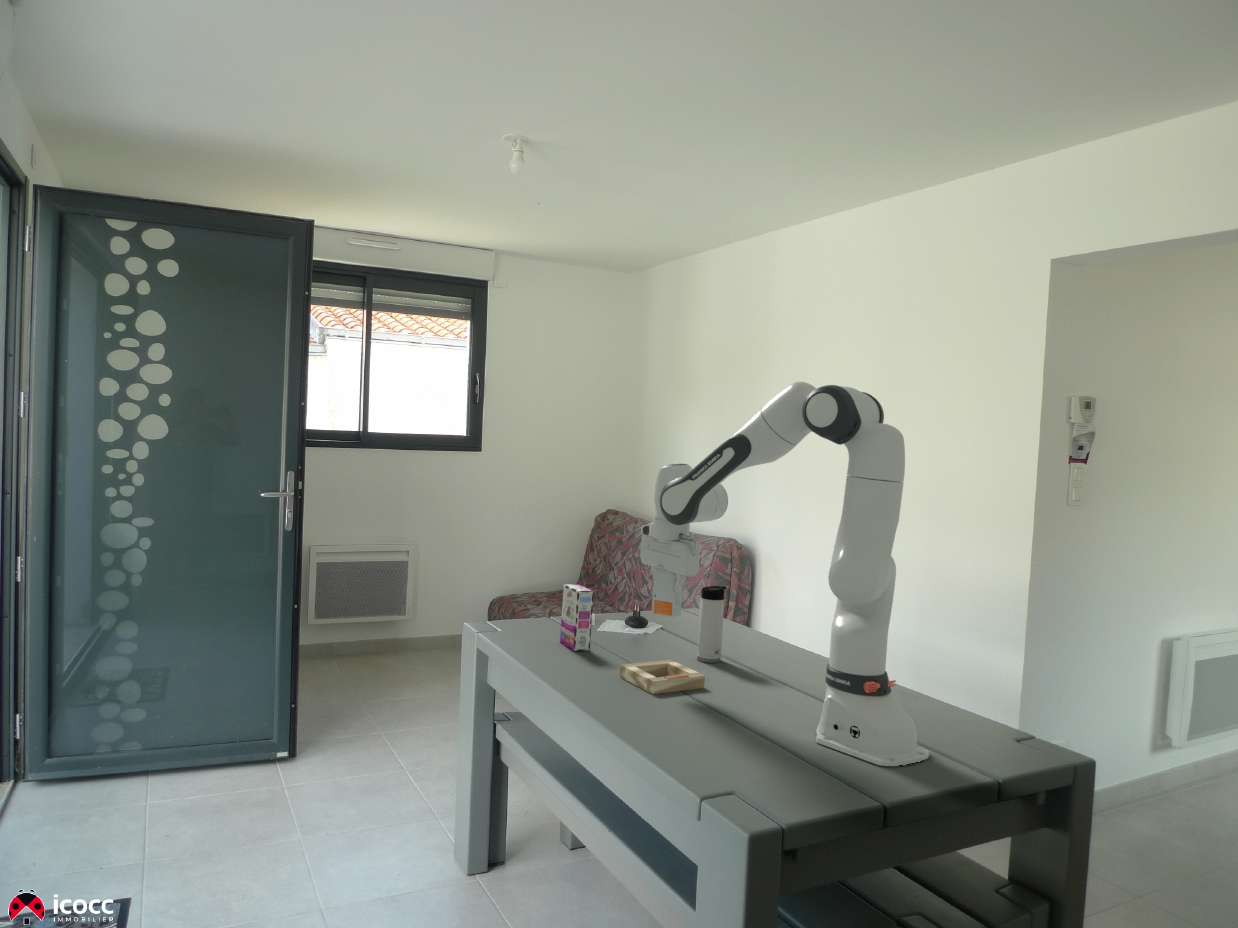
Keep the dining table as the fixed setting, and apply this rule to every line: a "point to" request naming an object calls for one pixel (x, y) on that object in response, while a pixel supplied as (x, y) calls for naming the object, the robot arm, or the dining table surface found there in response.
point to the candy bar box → (576, 617)
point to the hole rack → (675, 680)
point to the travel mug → (711, 624)
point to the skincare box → (665, 594)
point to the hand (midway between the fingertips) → (667, 588)
